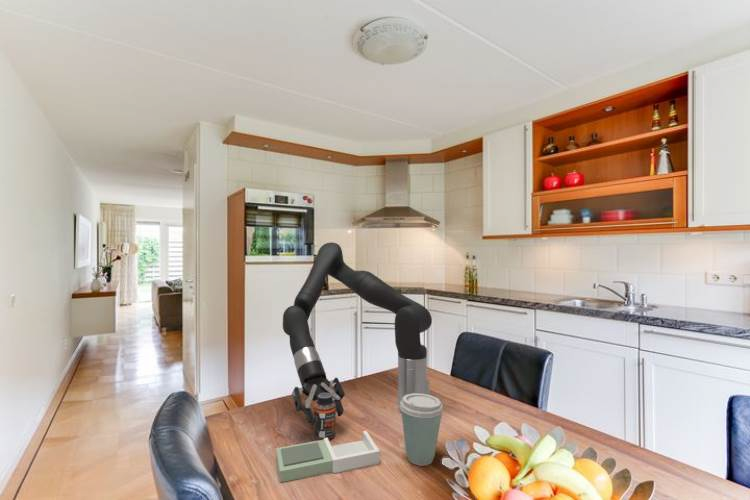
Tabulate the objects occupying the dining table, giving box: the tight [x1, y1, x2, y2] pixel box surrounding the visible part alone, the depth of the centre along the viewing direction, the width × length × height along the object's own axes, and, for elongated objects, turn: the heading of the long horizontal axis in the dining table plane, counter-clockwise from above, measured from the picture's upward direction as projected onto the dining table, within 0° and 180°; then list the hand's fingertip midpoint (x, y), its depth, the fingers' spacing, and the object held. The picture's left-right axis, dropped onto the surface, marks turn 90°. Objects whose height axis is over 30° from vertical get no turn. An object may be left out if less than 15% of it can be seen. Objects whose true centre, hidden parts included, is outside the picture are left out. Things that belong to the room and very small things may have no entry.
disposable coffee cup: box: [399, 393, 444, 467], centre depth 90 cm, size 11×11×15 cm
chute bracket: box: [324, 430, 381, 474], centre depth 91 cm, size 12×10×3 cm
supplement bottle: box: [313, 393, 337, 441], centre depth 101 cm, size 6×6×11 cm
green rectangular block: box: [275, 440, 333, 484], centre depth 88 cm, size 12×10×3 cm
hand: (327, 419), depth 100 cm, fingers open, 8 cm apart
